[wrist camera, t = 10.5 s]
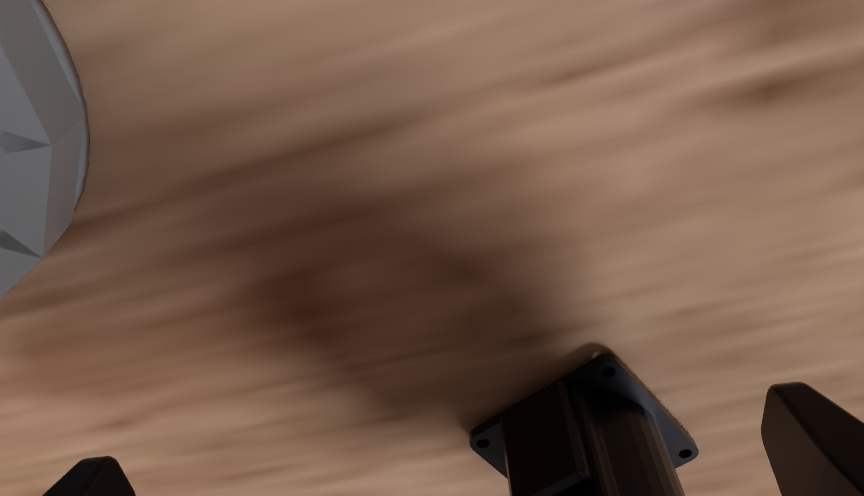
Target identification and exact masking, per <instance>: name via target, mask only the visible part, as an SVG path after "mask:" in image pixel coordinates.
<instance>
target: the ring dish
mask: <svg viewBox="0 0 864 496" xmlns="http://www.w3.org/2000/svg"><path fill="white" fill-rule="evenodd" d="M89 143H90V134H89V126H88V117H87V108H86V104H85V100H84V96H83V92H82V88H81V84H80V80H79V76H78V74H77V71H76V69H75V66H74V63H73V61H72V58H71V56H70V53H69V51H68V48H67V46H66V43H65V41H64V39H63V37H62V36H61V34H60V32H59V30H58V28H57V26H56V24H55V22H54V20H53V19H52V17H51V15H50V13H49V11H48V9H47V8H46V6H45V5H44V3H43V2H42V0H0V298H1V297H2V296H3V295H4V294H5V293H6V292H7V291H8V290H9V289H11V288H12V287H13V286H14V285H15V284H16V283H17V282H18V281H19V280H20V279H21V278H22V277H24V276H25V275H26V274H27V273H28V272H29V271H30V270H31V269H32V268H33V267H34V266H35V265H36V264H38V263H39V262H40V261H41V260H42V259H43V258H44V257H45V255H46V254H47V253H48V252H49V250H50V249H51V248H52V247H53V245H54V244H55V243H56V242H57V240H58V239H59V238H60V237H61V235H62V234H63V233H64V232H65V230H66V229H67V228H68V227H69V226H70V224H71V223H72V222H73V215H74V212H75V210H76V207H77V205H78V202H79V199H80V197H81V194H82V192H83V189H84V185H85V180H86V175H87V170H88V165H89Z"/></svg>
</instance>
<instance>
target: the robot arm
mask: <svg viewBox="0 0 864 496" xmlns="http://www.w3.org/2000/svg"><path fill="white" fill-rule="evenodd" d="M607 367H611V368H610V369H608V370H603V369H604V368H607ZM761 434H762V440H763V444H764V447H765V450H766V453H767V455H768V458H769V461H770V464H771V467H772V469H773V472H774V475H775V478H776V480H777V483H778V486H779V489H780V492H781V494H782V496H864V423H863V422H862V421H860V420H859V419H857V418H856V417H854V416H853V415H851V414H850V413H849V412H847V411H846V410H844V409H843V408H841V407H840V406H838V405H837V404H835V403H834V402H832V401H831V400H829V399H828V398H826V397H825V396H824V395H822V394H821V393H819V392H818V391H816V390H815V389H813V388H812V387H810V386H809V385H807V384H805V383H802V382H791V383H781V384H774V385H772V386H771V387H770V388H769V389H768V392H767V396H766V402H765V408H764V414H763V419H762V425H761ZM469 439H470V447H471V448H472V449H473V450H474V451H475V452H476V453H477V454H479V455H480V456H481V457H482V458H483V459H485V460H486V461H487V462H488V463H489V464H491V465H492V466H493V467H494V468H495V469H496V470H498V471H499V472H500V473H501V474H502V475H504V476H505V477H506V478H507V479H508V485H509V492H510V496H685V494H684V492H683V489H682V486H681V484H680V481H679V478H678V476H677V473H676V470H675V468H677V467H679V466H681V465H683V464H685V463H687V462H689V461H691V460H693V459H694V458H696V457H697V455H698V448H697V446H696V444H695V442H694V440H693V439H692V437H691V436H690V435H689V434H688V433H687V432H686V431H685V430H684V429H683V428H682V427H681V425H680V424H679V423H678V422H677V421H676V420H675V419H674V418H673V417H672V416H671V415H670V414H669V412H668V411H667V410H666V409H665V408H664V407H663V406H662V405H661V404H660V403H659V402H658V400H657V399H656V398H655V397H654V396H653V395H652V394H651V393H650V392H649V391H648V390H647V389H646V387H645V386H644V385H643V384H642V383H641V382H640V381H639V380H638V379H637V378H636V377H635V376H634V374H633V373H632V372H631V371H630V370H629V369H628V368H627V367H626V366H625V365H624V364H623V362H622V361H621V360H620V359H619V358H618V357H616V356H615V355H612V354H603V355H601V356H598V357H596V358H595V359H593V360H591V361H590V362H588V363H586V364H584V365H583V366H581V367H579V368H577V369H576V370H574V371H572V372H571V373H569V374H567V375H565V376H564V377H562V378H560V379H558V380H557V381H555V382H553V383H552V384H550V385H548V386H546V387H545V388H543V389H541V390H539V391H538V392H536V393H534V394H533V395H531V396H529V397H527V398H526V399H524V400H522V401H520V402H519V403H517V404H515V405H514V406H512V407H510V408H508V409H507V410H505V411H503V412H501V413H500V414H498V415H496V416H495V417H493V418H491V419H489V420H488V421H486V422H484V423H482V424H481V425H479V426H477V427H476V428H474V429H473V430H472V431H471V432H470V434H469ZM480 439H484V440H480ZM42 496H136V495H135V492H134V490H133V488H132V486H131V484H130V483H129V481H128V479H127V477H126V476H125V474H124V472H123V470H122V469H121V467H120V465H119V463H118V462H117V460H116V459H114V458H113V457H111V456H103V457H94V458H86V459H83V460H81V461H80V462H78V463H77V464H76V465H75V466H74V467H73V468H72V469H70V470H69V471H68V472H67V473H66V474H65V475H64V476H63V477H62V478H61V479H60V480H59V481H57V482H56V483H55V484H54V485H53V486H52V487H51V488H50V489H49V490H48V491H47V492H46V493H44V494H43V495H42Z"/></svg>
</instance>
